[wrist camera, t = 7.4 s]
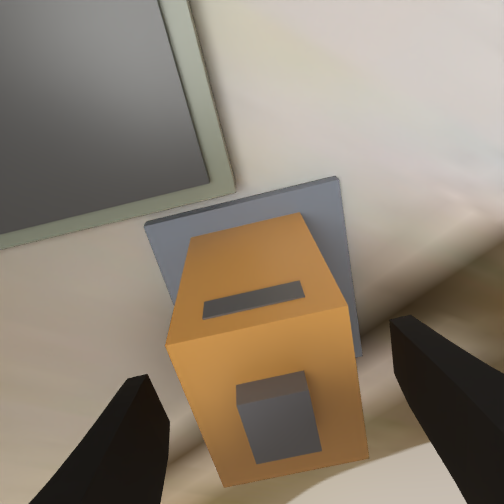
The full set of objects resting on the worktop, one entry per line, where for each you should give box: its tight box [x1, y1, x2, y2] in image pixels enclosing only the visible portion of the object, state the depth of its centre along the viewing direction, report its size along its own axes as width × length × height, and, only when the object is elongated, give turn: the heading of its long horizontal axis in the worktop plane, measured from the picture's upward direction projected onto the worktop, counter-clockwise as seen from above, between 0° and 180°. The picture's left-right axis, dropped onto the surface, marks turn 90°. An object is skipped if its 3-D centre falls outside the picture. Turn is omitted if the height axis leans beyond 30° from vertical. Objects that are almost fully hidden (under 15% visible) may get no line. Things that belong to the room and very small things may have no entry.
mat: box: [144, 176, 362, 358], centre depth 15 cm, size 7×8×1 cm
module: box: [165, 212, 369, 488], centre depth 12 cm, size 4×5×7 cm
